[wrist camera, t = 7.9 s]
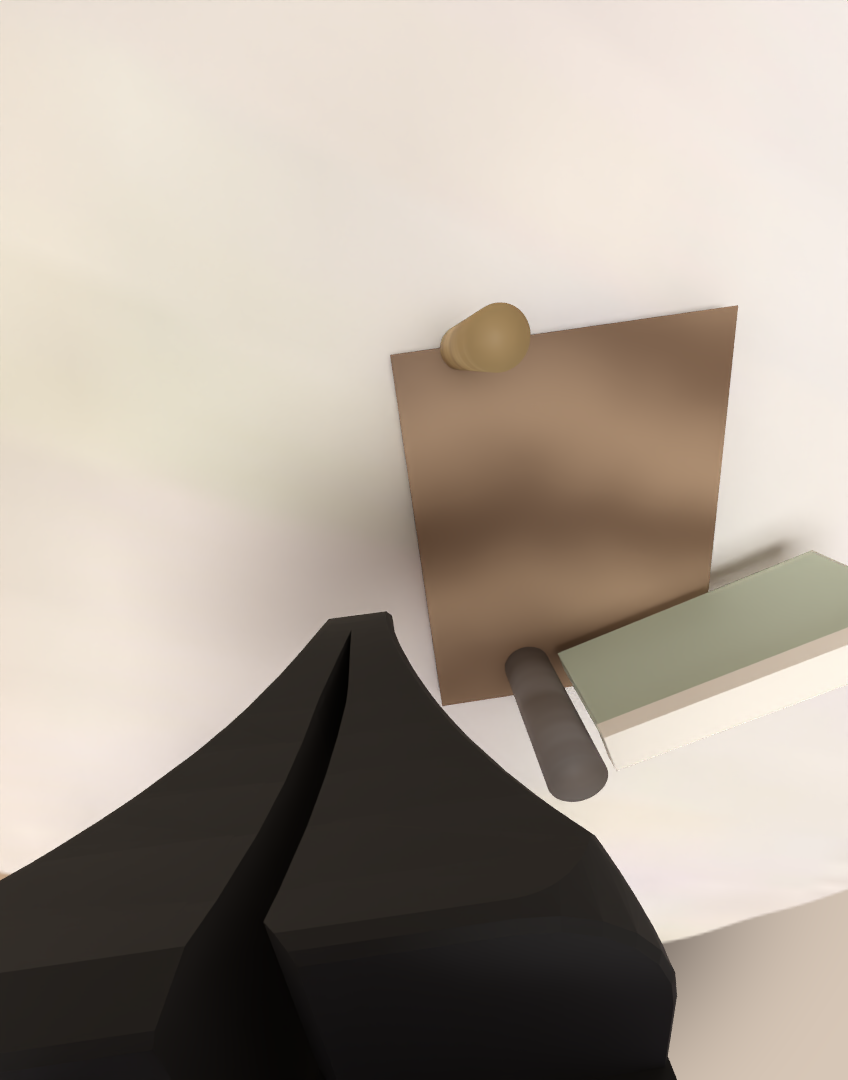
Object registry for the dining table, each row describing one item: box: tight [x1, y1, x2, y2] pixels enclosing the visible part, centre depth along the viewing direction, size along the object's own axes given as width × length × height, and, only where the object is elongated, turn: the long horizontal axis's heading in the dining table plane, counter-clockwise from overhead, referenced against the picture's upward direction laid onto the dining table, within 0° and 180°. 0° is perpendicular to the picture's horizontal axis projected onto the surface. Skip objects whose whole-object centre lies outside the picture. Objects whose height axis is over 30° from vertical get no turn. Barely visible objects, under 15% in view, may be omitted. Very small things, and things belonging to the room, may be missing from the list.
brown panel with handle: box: [390, 303, 738, 802], centre depth 16 cm, size 16×12×7 cm
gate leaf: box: [558, 551, 848, 771], centre depth 17 cm, size 11×2×5 cm, turn 114°
